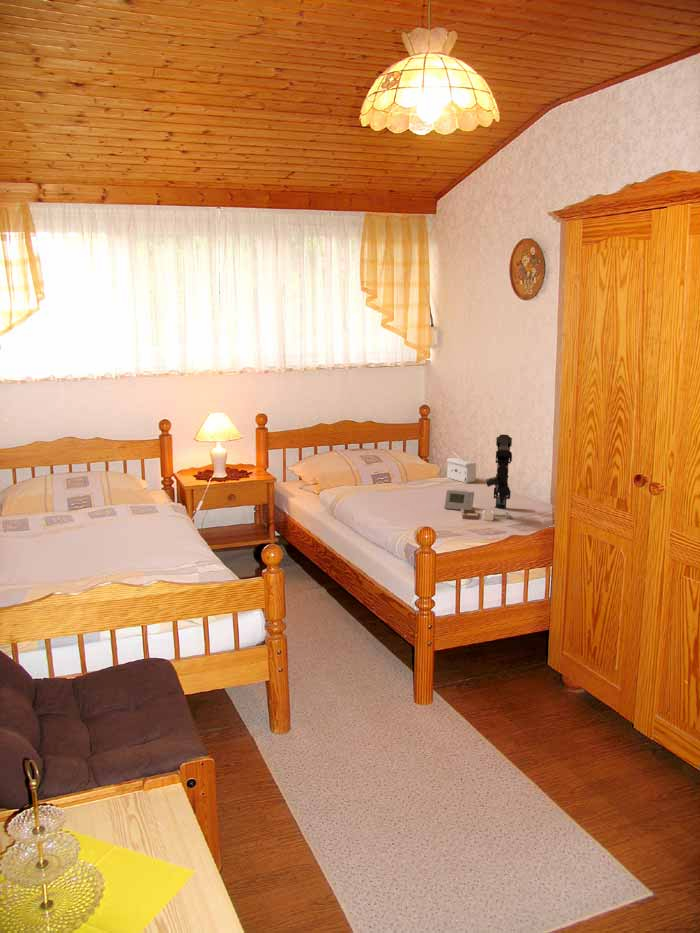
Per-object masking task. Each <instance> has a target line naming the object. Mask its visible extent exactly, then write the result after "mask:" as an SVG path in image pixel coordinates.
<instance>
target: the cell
mask: <svg viewBox="0 0 700 933" xmlns="http://www.w3.org/2000/svg"><path fill="white" fill-rule="evenodd" d="M498 504H499V505H504V504H505V499H504V501H503V503H500V496H499V493H498Z"/></svg>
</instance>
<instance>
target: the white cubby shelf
mask: <svg viewBox="0 0 700 933" xmlns="http://www.w3.org/2000/svg"><path fill="white" fill-rule="evenodd" d="M493 514H494V511H493V510H488V509H487V510H482V521H493V520H494V519H493Z"/></svg>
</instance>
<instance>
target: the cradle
mask: <svg viewBox="0 0 700 933" xmlns="http://www.w3.org/2000/svg"><path fill="white" fill-rule="evenodd" d="M510 517H511V516H510V513H509V512H508V511H506V512H505V514H503V513H493V520H510V519H511V518H510Z"/></svg>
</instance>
